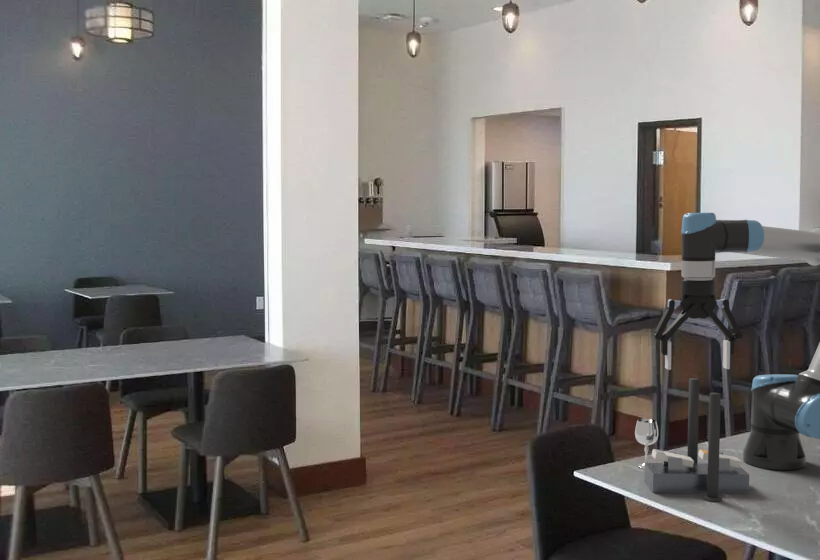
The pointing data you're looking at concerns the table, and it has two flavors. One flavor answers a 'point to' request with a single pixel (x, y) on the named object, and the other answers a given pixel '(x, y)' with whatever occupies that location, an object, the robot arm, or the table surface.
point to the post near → (713, 448)
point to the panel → (694, 477)
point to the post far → (693, 419)
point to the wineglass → (646, 435)
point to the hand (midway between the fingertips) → (697, 368)
